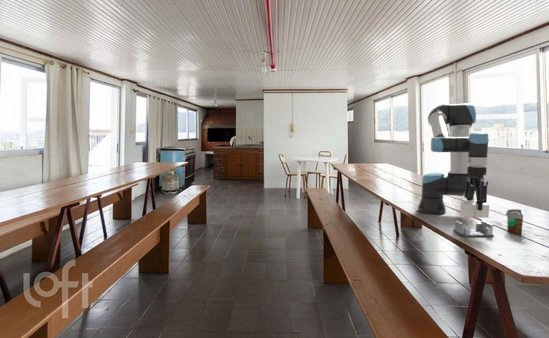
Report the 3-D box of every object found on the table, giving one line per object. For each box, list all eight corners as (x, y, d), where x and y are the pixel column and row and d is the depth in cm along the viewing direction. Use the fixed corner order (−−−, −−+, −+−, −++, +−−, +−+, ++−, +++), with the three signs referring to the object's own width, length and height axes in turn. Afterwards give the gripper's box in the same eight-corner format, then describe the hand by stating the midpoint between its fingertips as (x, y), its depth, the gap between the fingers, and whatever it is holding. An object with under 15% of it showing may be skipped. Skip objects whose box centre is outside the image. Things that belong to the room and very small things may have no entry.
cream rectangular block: (464, 217, 145) (465, 204, 145) (460, 214, 150) (461, 202, 150) (488, 217, 144) (489, 204, 143) (483, 215, 149) (483, 202, 148)
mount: (463, 237, 144) (464, 225, 143) (453, 230, 153) (453, 220, 152) (493, 236, 144) (494, 225, 143) (481, 230, 153) (482, 219, 152)
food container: (504, 227, 158) (505, 207, 157) (519, 229, 154) (521, 209, 153) (505, 233, 148) (506, 213, 147) (521, 236, 144) (523, 215, 143)
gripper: (457, 164, 154) (455, 210, 156) (481, 168, 135) (478, 220, 138) (473, 164, 154) (470, 210, 156) (498, 168, 135) (495, 220, 138)
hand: (474, 215), depth 147 cm, fingers closed on cream rectangular block, 5 cm apart
